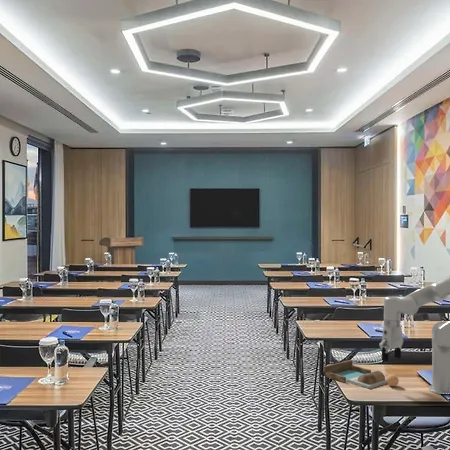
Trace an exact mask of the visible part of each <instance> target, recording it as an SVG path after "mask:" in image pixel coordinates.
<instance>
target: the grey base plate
mask: <svg viewBox="0 0 450 450" xmlns="http://www.w3.org/2000/svg"><path fill="white" fill-rule="evenodd" d="M358 377H359V376H358ZM358 377H354V378H351V379H347V383H350V384H353V385H355V386H359V387H362V388H365V389H368V390H369V389H373V388H376V387H380V386H383V385H386V384H387V385H388V383H387V381H386V379H387V378H385V380H383V381H380V382H377V383H373V384H370V385H369V384H366V383H362V382H359V381H357V380H358Z"/></svg>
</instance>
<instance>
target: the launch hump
mask: <svg viewBox="0 0 450 450" xmlns="http://www.w3.org/2000/svg"><path fill="white" fill-rule="evenodd" d="M385 379H386V377H385V375H384V373H383V372H382V371H381V370H375V371H371V373H368V374H364V375H361V376H359V377H358V380H357V381H359V382H362V383H366V384H369V385H370V384H373V383H377V382H380V381H383V380H385Z"/></svg>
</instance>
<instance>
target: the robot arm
mask: <svg viewBox="0 0 450 450" xmlns="http://www.w3.org/2000/svg"><path fill="white" fill-rule="evenodd" d="M449 298H450V274H449V275H448V276H445V277H444V278H441V279H440V280H438V281H435V282H433V283H432V284H428V285H426V286H424V287H422V288H420V289H417V290H415V291H413V292H411V293H408V294H407V295H405V296H404V297H403V298H400V297H398V296H386V297H384V301H383V328H382V335H381V336H382V337H381V342H379V350H380V352H381V361H383V362H386V363H387V362H389V351H390V349H391V350H394V352H393V353H394V358H396V359H401V358H402V349H403V348H402V347H403V344H404V339H403V331H402V326H401V320H402V319H401V318H402V317H401V316H402V315H401V314H404V315H409V316H411V315H415V314H417V312H418V311H419V309H420V307H423V306H425V305H427V304H429V303H432V302H440V301H444V300H447V299H449ZM431 345H432V346H431V347H432V348H431V349H432V350H431V351H432V353H431V356H432V357H431V361H432V364H431V365H432V367H431V368H432V369H431V371H432V373H431V374H432V375H431V376H432V377H431V378H432V380H431V385H429V386H428V391H430V392H431V393H434V394H438V395H441V394H443V393H444V394H446V393H447V394H448V393H450V320H449V321H447V322H446V321H438V322H436V323H435V324H434V325H433V326H432V328H431Z"/></svg>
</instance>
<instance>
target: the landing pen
mask: <svg viewBox="0 0 450 450" xmlns="http://www.w3.org/2000/svg"><path fill="white" fill-rule="evenodd" d="M348 370H353V371H356V372H360V373H363V374H368V373H371V372H372V370H371V369H369V368H364V367H361V366H357V365H354V364H353V359H349V360H344V361H340V362H335V363H332V364H328V365H325V366H323V376H324V377H325V378H328V379H331V380H335V381H338V382H341V383H346V377H344V376H341V375H337V373H341V372H344V371H348Z"/></svg>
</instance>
